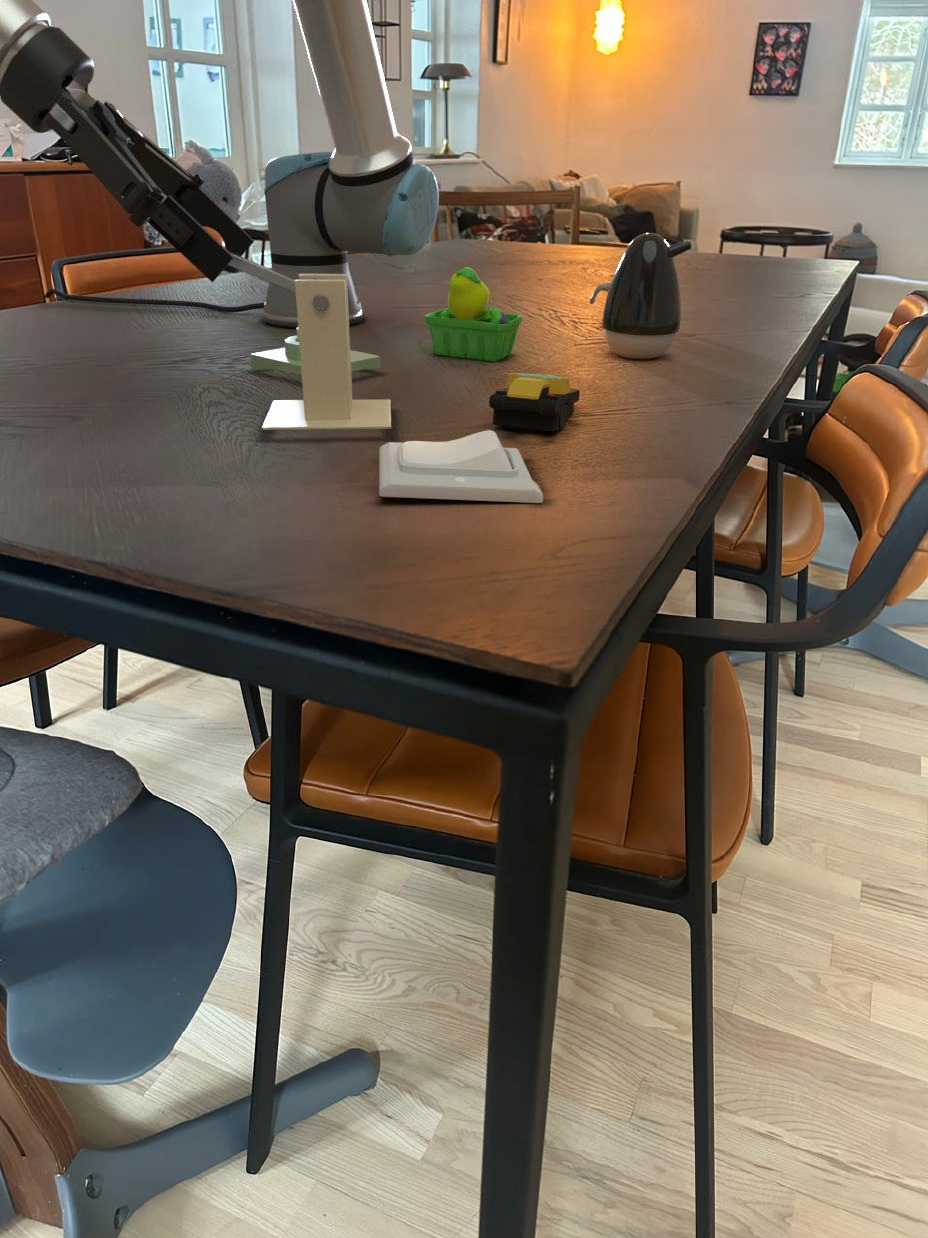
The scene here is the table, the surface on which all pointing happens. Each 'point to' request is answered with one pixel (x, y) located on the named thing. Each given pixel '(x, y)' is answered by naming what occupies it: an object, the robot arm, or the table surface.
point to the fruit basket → (472, 322)
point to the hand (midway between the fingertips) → (235, 260)
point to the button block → (291, 360)
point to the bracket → (325, 364)
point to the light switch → (456, 470)
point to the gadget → (534, 402)
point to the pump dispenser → (644, 299)
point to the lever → (256, 267)
